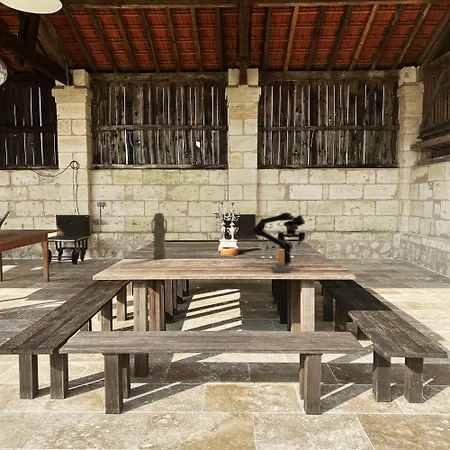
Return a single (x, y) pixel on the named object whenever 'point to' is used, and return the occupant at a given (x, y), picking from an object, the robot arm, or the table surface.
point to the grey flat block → (280, 267)
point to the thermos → (159, 236)
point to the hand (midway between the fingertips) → (291, 245)
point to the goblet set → (263, 246)
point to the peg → (281, 257)
